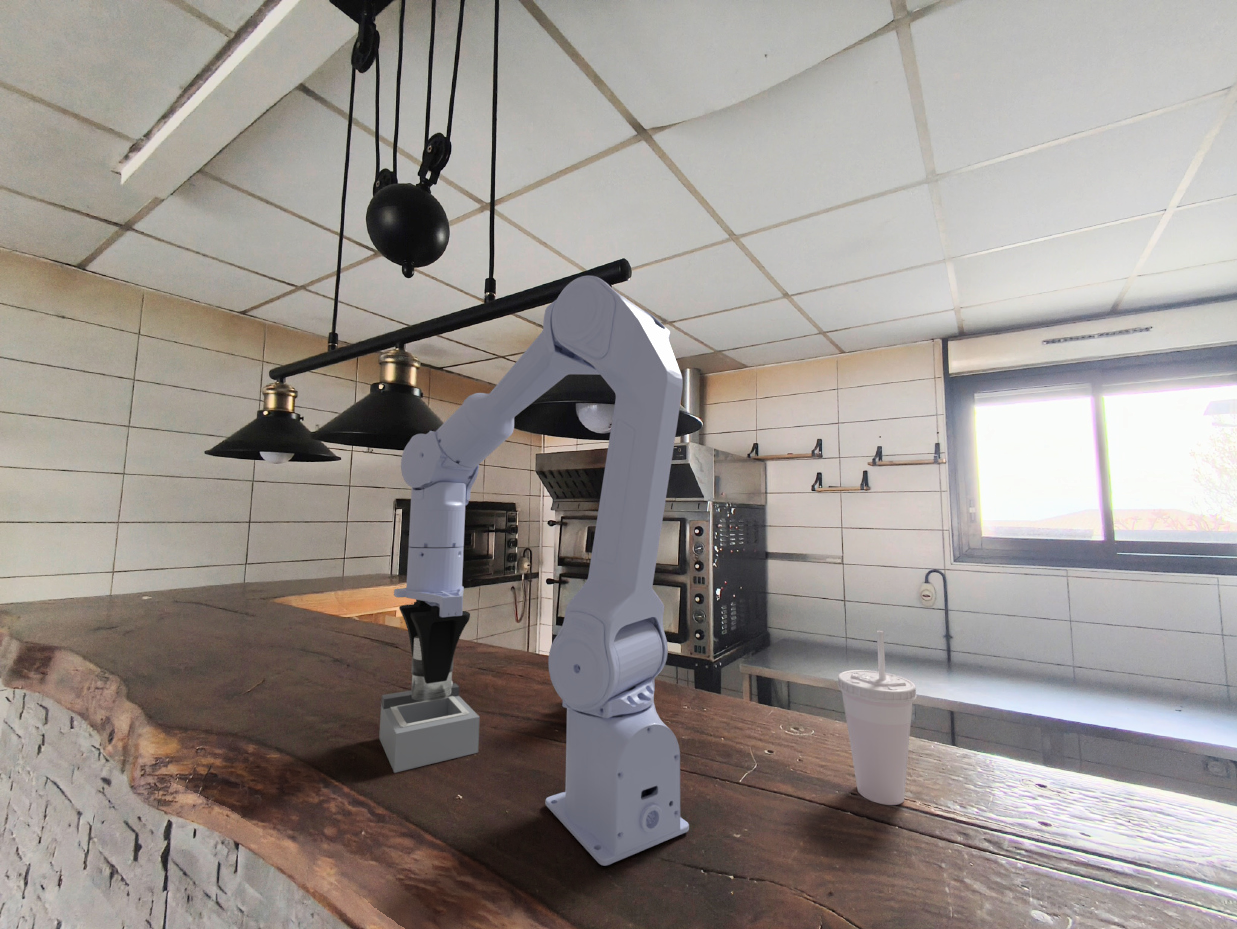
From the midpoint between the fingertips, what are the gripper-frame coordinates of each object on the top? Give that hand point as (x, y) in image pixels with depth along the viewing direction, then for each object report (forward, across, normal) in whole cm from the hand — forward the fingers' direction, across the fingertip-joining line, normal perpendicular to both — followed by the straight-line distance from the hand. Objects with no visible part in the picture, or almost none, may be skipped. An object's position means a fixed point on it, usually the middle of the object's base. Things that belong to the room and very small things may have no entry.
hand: (430, 675), depth 55 cm
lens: (+2, 0, 0) cm, 2 cm away
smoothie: (+7, +31, +32) cm, 45 cm away
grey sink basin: (+7, 0, 0) cm, 7 cm away
